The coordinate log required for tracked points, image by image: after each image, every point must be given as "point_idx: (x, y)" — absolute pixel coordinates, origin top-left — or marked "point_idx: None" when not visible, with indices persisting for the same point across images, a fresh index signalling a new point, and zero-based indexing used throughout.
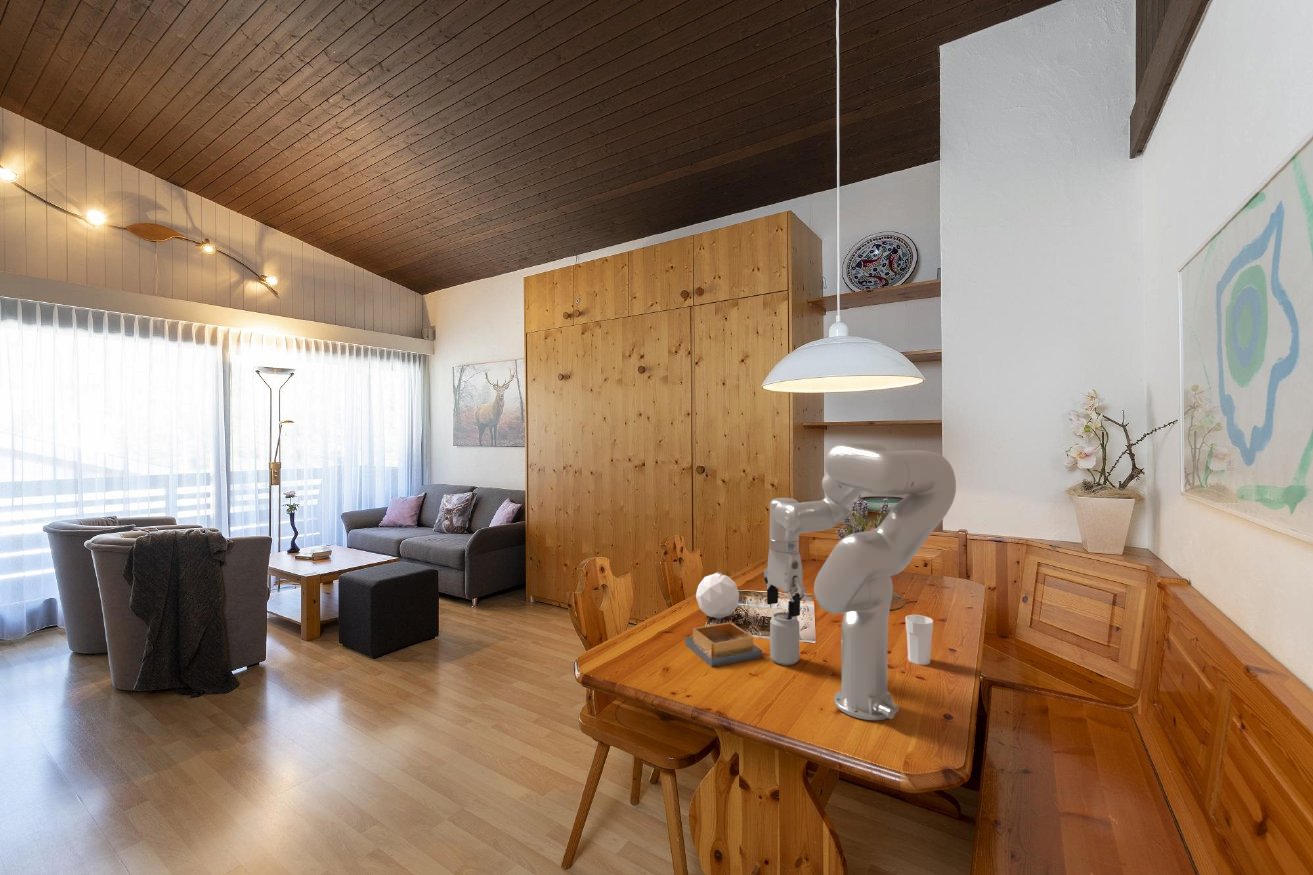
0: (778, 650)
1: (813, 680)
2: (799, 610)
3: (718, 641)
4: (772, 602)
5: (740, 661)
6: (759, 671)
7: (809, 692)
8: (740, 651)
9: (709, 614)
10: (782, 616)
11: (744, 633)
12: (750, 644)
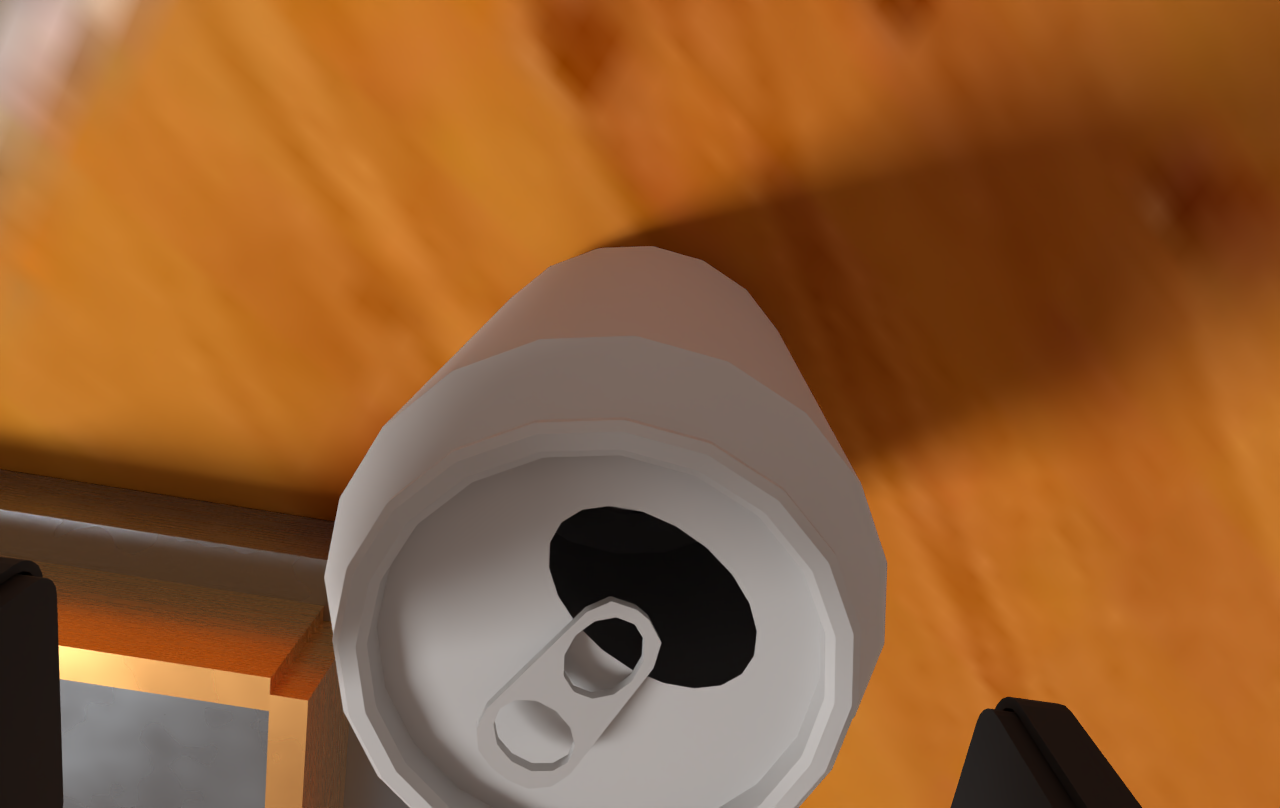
0: (690, 604)
1: (1132, 488)
2: (1112, 790)
3: None
4: (39, 753)
5: None
6: None
7: (1251, 682)
8: (358, 770)
9: None
10: (582, 717)
11: (131, 685)
12: (335, 685)
